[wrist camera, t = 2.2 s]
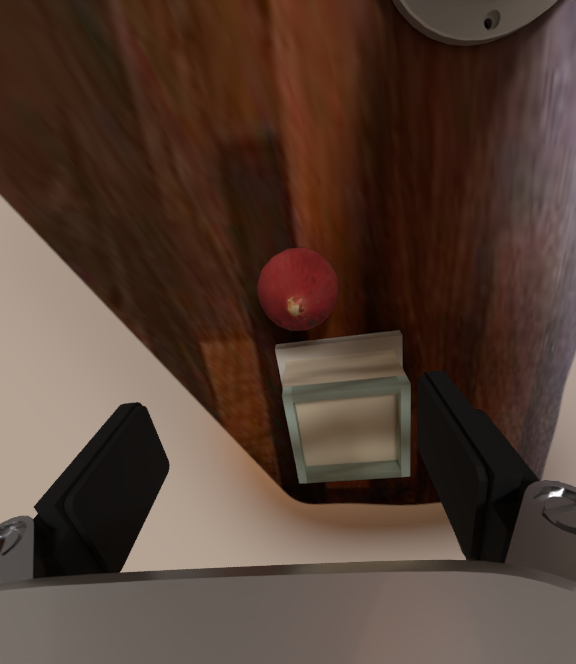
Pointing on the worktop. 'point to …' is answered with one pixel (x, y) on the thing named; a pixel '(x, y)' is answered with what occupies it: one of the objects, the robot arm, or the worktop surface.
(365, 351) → the open box
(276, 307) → the onion
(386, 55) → the worktop surface
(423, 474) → the worktop surface
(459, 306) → the worktop surface
